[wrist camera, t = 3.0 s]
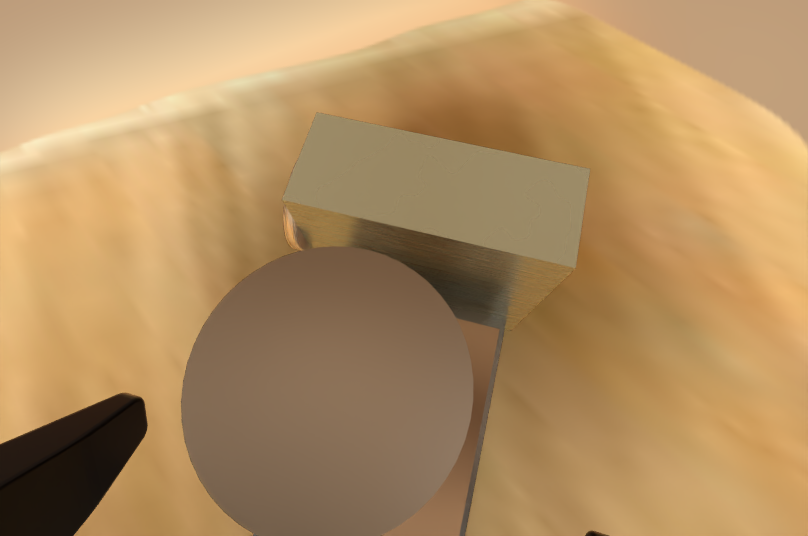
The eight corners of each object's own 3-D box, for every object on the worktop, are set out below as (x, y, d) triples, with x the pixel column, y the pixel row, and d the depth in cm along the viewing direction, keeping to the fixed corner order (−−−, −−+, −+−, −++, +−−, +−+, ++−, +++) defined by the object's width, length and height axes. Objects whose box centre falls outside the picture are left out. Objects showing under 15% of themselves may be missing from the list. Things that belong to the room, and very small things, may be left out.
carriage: (449, 542, 15) (576, 989, 3) (280, 490, 15) (-137, 698, 4) (490, 339, 17) (652, 157, 5) (341, 301, 17) (198, 66, 6)
